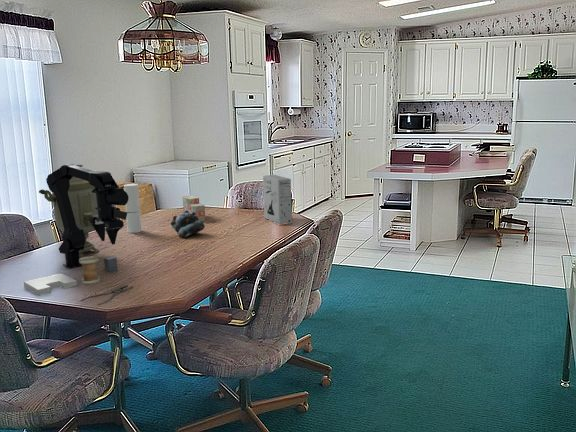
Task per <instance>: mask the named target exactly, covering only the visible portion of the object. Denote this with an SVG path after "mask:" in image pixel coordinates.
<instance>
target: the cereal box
mask: <svg viewBox="0 0 576 432" xmlns="http://www.w3.org/2000/svg"><path fill="white" fill-rule="evenodd" d="M262 185H263V186H262V187H263V189H262V190H263V210H264V211H263V215H264V217H265V218H267V219H269V220H271V221H274V222H276V223H278V224H283V223H292V224H293V218H292V217H293V216H292V179H291V178H290V177H289V178H288V177H285V176H281V175H277V174H268V175H262ZM265 218H264V219H265ZM267 219H266V220H267ZM269 220H268V221H269ZM271 221H270V222H271ZM276 223H275V224H276ZM278 224H277V225H278Z"/></svg>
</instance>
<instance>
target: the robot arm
mask: <svg viewBox="0 0 576 432" xmlns="http://www.w3.org/2000/svg"><path fill="white" fill-rule="evenodd" d="M76 165H77V164H74V163H68V164H67V163H66V164H63V165H61V166H60V167H59V168H57V169H56V170H54V171H53V172H51V173H50V174H48V175H47V177H46V178H45V179H46V184H47V187H48V189H49V191H50V192H51V194H54V195H55V196H56V200H57V204H58V207H59V211H60V215H61V219H62V222H63V226H64V232H63V231H62V232H63V233H62V236H61V237H62V243H61V244H60V246H59V247H58V251H59V254H63V255H64V257H65V259H64V260H65V263H63V264H62V267H65V268H67V269H72V268H77V267H81V266H82V267H83V264H81V263H79V259H80V258H81V254H79V250H83V249H84V244H85V238H86V237H85V235H84V231H83V229H81V230H80V229H79V228H78V227H77V225H76V222H75V218H74V214H73V210H72V207H71V203H70V199H69V195H68V190H69V187H70V183H69V181H70V180H71V179H72V178H73V177H76V178H80V179H83V180H86V181H88V182H89V183H90V185H92V186H94V187H95V188H94V189H93V190H92V193H96V199H97V207H95V209H96V210H98V215H95V216H91V217H90V218H89V220H90V223H91V225H92V226H93V227H94V231H95V232H96V234H97V235H98V237H99V239H100V240H101V242H104V241H105V240H106V234H107V237H108V239H109V241H110V243H111V245H116V240H117V236H118V232H119V231H120V230H121V229H122V228H123V227H124V226H125V224H124V223H125V221H127V212H126V211H122V210H121V209H120V208H119V207H116V206H126V204H127V202H128V198H129V197H128V194H127V193H126V192H125V191H124V187H120V186H119V184H118V183H117V182H116V181H115V179H114V178H113V176H112V173H110V171H104V170H102V171H101V170H99V171H98V170H97V171H95V170H91V169H88V168H84V167H83V166H82V167H79V166H76ZM123 220H124V221H123Z"/></svg>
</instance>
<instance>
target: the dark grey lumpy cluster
mask: <svg viewBox="0 0 576 432" xmlns="http://www.w3.org/2000/svg"><path fill="white" fill-rule="evenodd" d="M170 225H171V227H172V228H173V229H174V230H175V231H176V233H177V235H178V237H179V238H180V239H181V238H182V239H186V238H187V237H190V236H191V235H193V234H197V233H199V232H201V231H203V230H204V229H205V228H206V227H205V224H204V221H199V219H198V217H197V216H196V214H195V212H191V213H189V212H188V211H185V212H184V211H183V212H181V213H180V214H178V215H174V216H173V217H172V220H171V221H170Z"/></svg>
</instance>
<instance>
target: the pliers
mask: <svg viewBox="0 0 576 432" xmlns="http://www.w3.org/2000/svg"><path fill="white" fill-rule="evenodd" d="M128 285H129V284H126V285H124V286H121V287H118V288H115V289H113V290H111V291H108V292H104V293H99V294H98V293H97V294H93V295H90V296H87V297H85V298H82V299H81V300H80V302H83V301H86V300H88V299H92V298H95V297H101V296H107V295H111V294H112V295H111V296H110V298H109V299H107V300H104V301H103V302H99V303H97V306H100V305H103V304H106V303H108V302H110V301H112V300H113V298H115V297H116V296H118V295H119V294H121V293H125V292H127V291H129V290H131V289H133V288H134V285H131V286H128Z"/></svg>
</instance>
